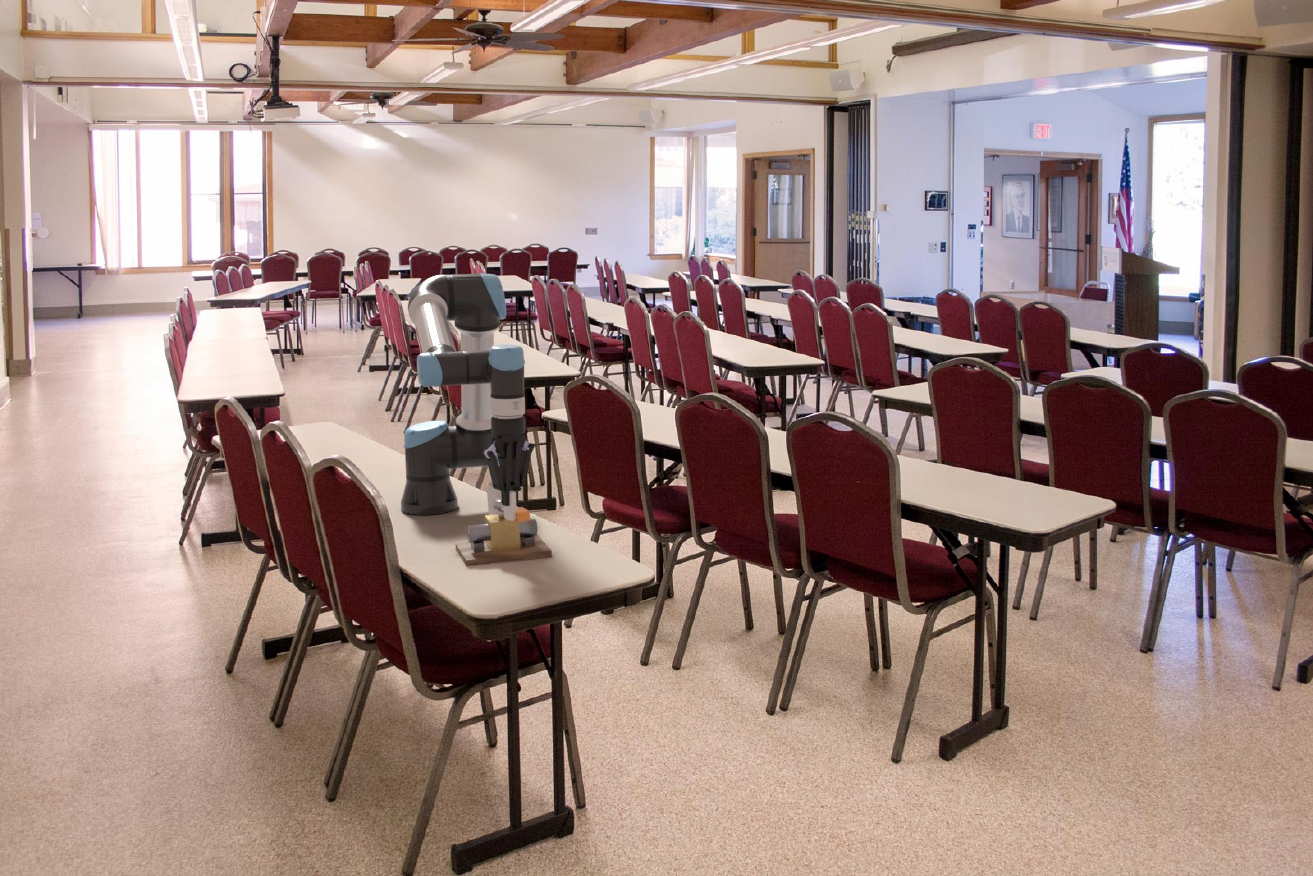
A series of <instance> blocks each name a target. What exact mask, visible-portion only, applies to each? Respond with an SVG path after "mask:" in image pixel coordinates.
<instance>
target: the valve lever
mask: <svg viewBox="0 0 1313 876" xmlns="http://www.w3.org/2000/svg"><path fill="white" fill-rule="evenodd" d="M493 504H494V509H497V510H503V511H504V505H502V500H501V498H499V499H495V500H493ZM530 513H531V512H530V510H528V509H526V508H524V507H523V506H520V507H517V506H516V520H514V521H516V522H524V521H530V519H531V517H530V516H531V515H530Z"/></svg>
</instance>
